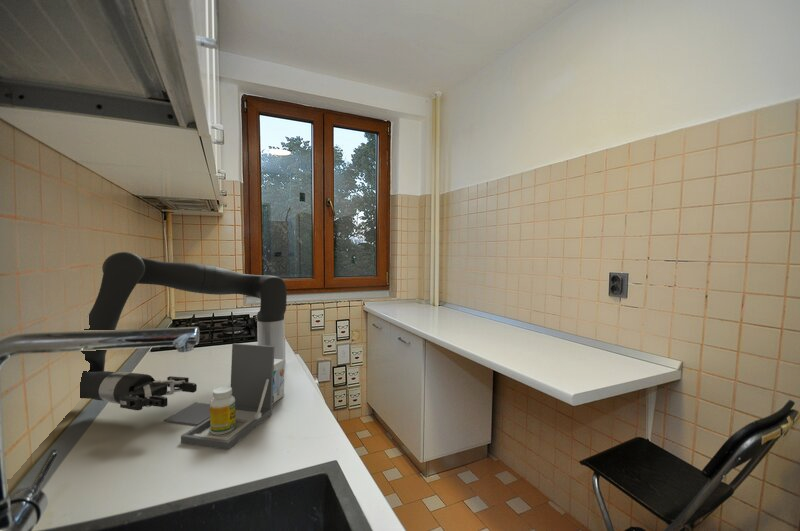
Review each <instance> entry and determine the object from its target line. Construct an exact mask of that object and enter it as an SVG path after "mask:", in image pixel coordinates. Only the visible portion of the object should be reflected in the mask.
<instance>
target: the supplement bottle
mask: <svg viewBox="0 0 800 531" xmlns="http://www.w3.org/2000/svg"><path fill="white" fill-rule="evenodd" d="M231 394H232V388H231V386H221V387H216V388H215V389H213V390H212V397H213V398H212V399H211V400H210V403H209V404H210V426H209V428H210V432H211V433H212V434H214V435H216V436H217V435H218V436H219V435H225V434H227V433H230V432H233V430H234V429H235V427H236V422H237V421H235V398H234V396H232V395H231Z"/></svg>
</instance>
